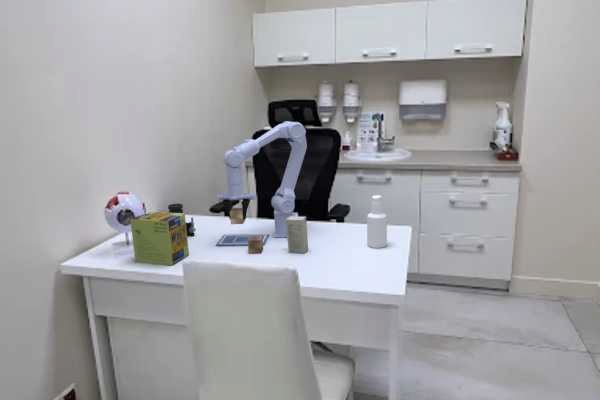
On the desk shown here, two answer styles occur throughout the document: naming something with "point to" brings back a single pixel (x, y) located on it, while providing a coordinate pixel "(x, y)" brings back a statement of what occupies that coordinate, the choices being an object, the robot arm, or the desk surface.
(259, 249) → the walnut block
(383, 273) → the desk surface
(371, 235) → the spray bottle
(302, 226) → the skincare box
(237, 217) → the maple block
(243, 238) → the board
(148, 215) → the protein box
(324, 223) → the desk surface
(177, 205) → the scope
